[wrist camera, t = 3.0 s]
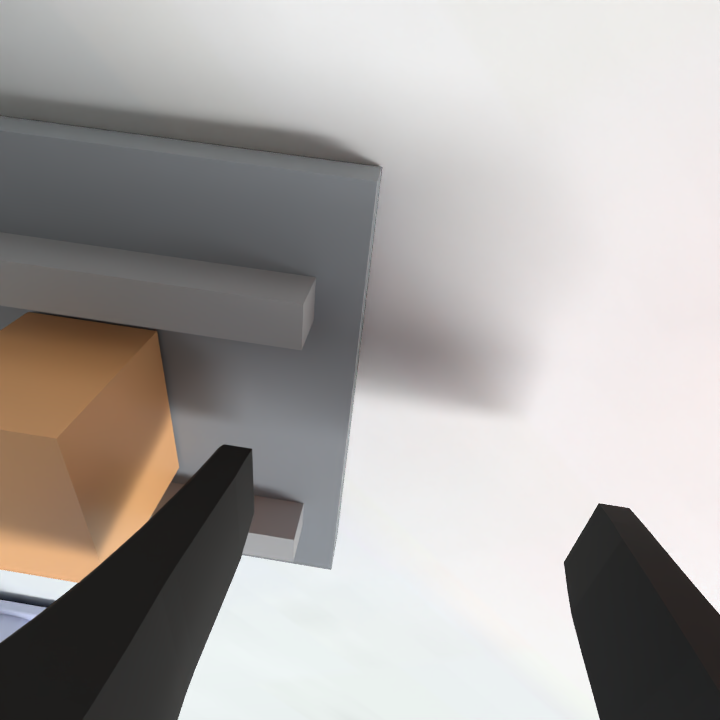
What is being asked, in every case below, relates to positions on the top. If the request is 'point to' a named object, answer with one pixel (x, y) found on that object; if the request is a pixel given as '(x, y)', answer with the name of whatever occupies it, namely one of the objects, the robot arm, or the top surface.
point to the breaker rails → (209, 295)
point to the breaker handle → (79, 442)
